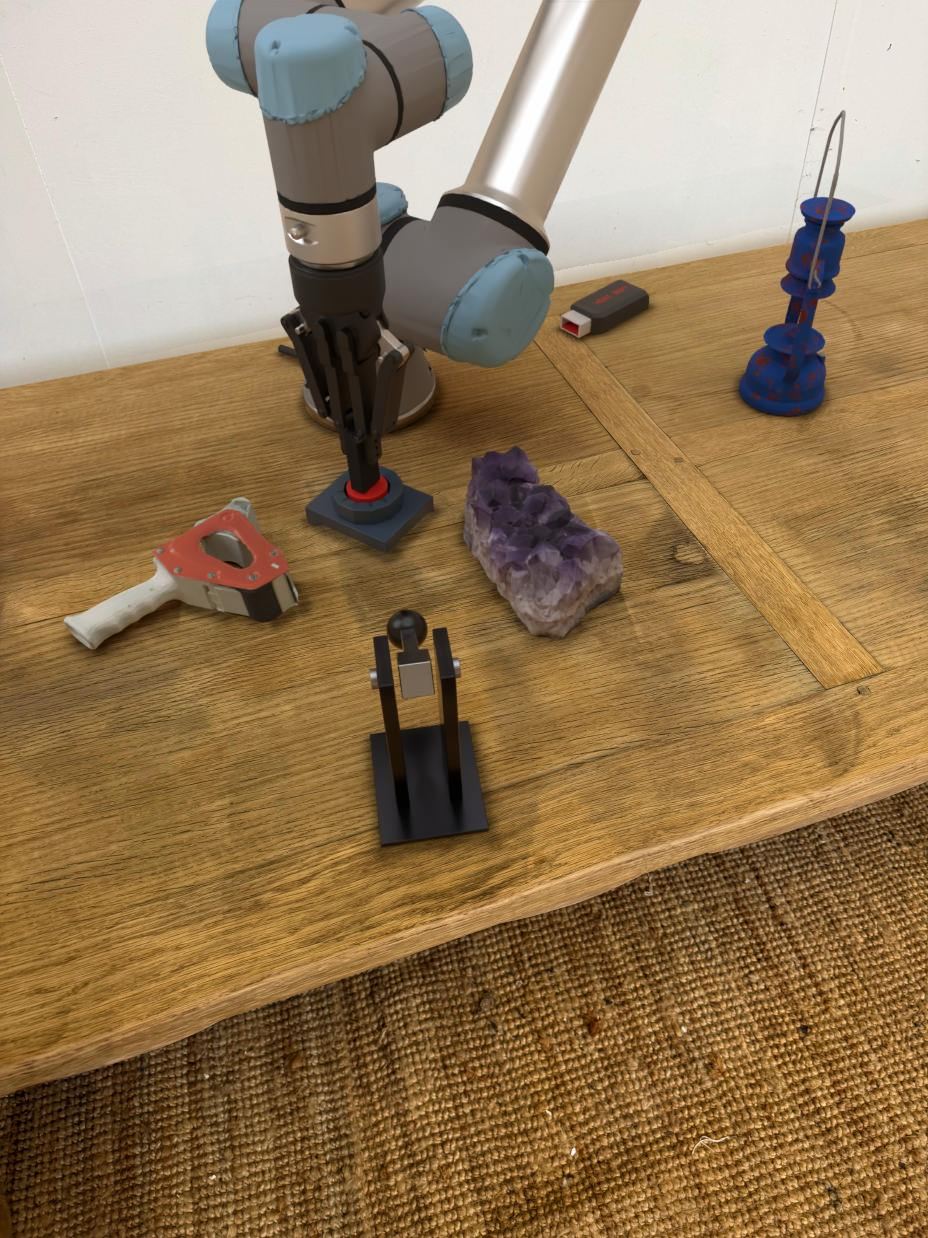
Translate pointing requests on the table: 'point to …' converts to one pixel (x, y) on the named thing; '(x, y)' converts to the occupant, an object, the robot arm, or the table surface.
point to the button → (369, 492)
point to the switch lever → (411, 653)
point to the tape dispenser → (202, 577)
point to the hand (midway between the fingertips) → (365, 483)
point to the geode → (537, 545)
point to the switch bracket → (424, 760)
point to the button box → (371, 511)
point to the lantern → (801, 309)
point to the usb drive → (604, 309)
